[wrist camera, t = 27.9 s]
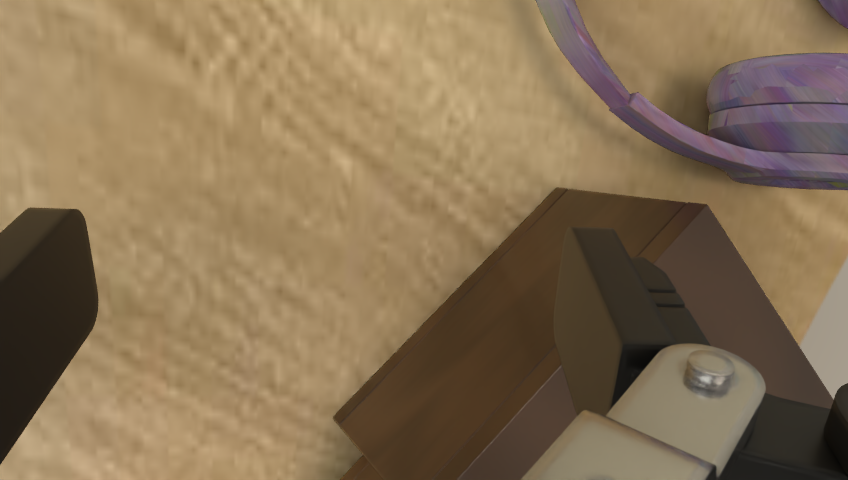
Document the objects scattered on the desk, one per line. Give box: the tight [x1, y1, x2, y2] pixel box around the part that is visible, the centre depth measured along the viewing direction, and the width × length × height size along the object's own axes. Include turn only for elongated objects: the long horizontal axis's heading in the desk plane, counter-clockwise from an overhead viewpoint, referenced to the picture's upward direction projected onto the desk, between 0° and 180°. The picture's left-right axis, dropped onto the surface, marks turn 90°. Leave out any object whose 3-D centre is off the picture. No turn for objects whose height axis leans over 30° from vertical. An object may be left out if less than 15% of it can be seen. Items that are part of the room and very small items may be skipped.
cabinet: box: [333, 188, 834, 480], centre depth 29 cm, size 13×12×9 cm
